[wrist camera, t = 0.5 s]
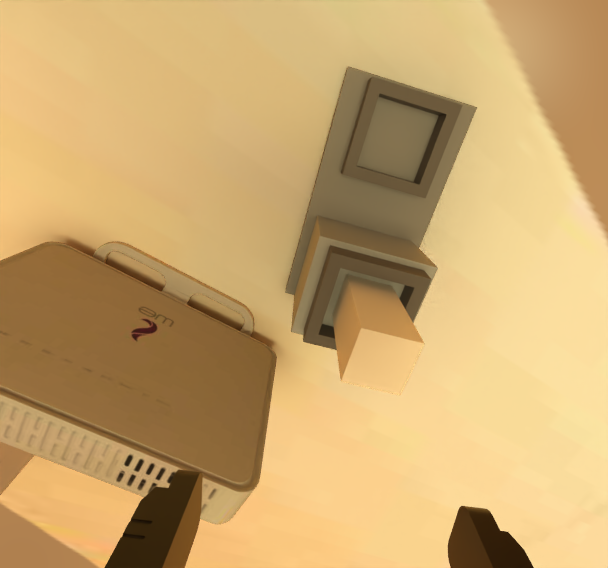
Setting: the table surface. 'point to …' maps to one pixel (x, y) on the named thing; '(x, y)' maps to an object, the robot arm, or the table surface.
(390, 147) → the grey stepped block
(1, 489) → the game console
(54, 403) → the network device
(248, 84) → the table surface
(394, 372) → the plug
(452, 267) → the table surface
